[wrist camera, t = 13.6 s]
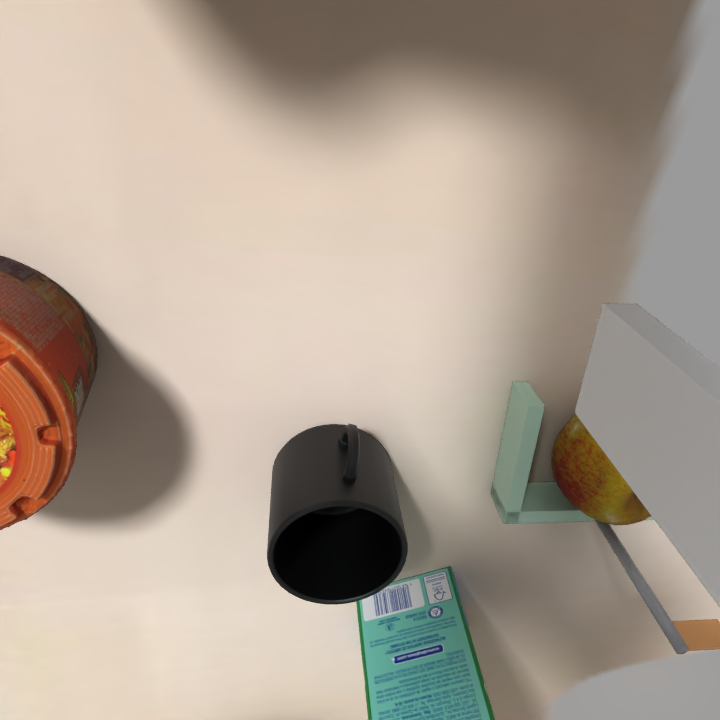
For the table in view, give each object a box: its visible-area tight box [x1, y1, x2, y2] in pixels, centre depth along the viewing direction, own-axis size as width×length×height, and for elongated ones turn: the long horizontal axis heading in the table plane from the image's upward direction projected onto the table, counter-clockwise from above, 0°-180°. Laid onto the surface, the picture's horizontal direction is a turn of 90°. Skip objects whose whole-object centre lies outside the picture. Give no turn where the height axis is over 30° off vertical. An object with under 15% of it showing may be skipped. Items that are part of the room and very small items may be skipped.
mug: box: [267, 424, 408, 604], centre depth 43 cm, size 9×12×9 cm
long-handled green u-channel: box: [491, 381, 720, 654], centre depth 41 cm, size 11×15×16 cm
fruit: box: [552, 415, 651, 525], centre depth 44 cm, size 10×9×8 cm
